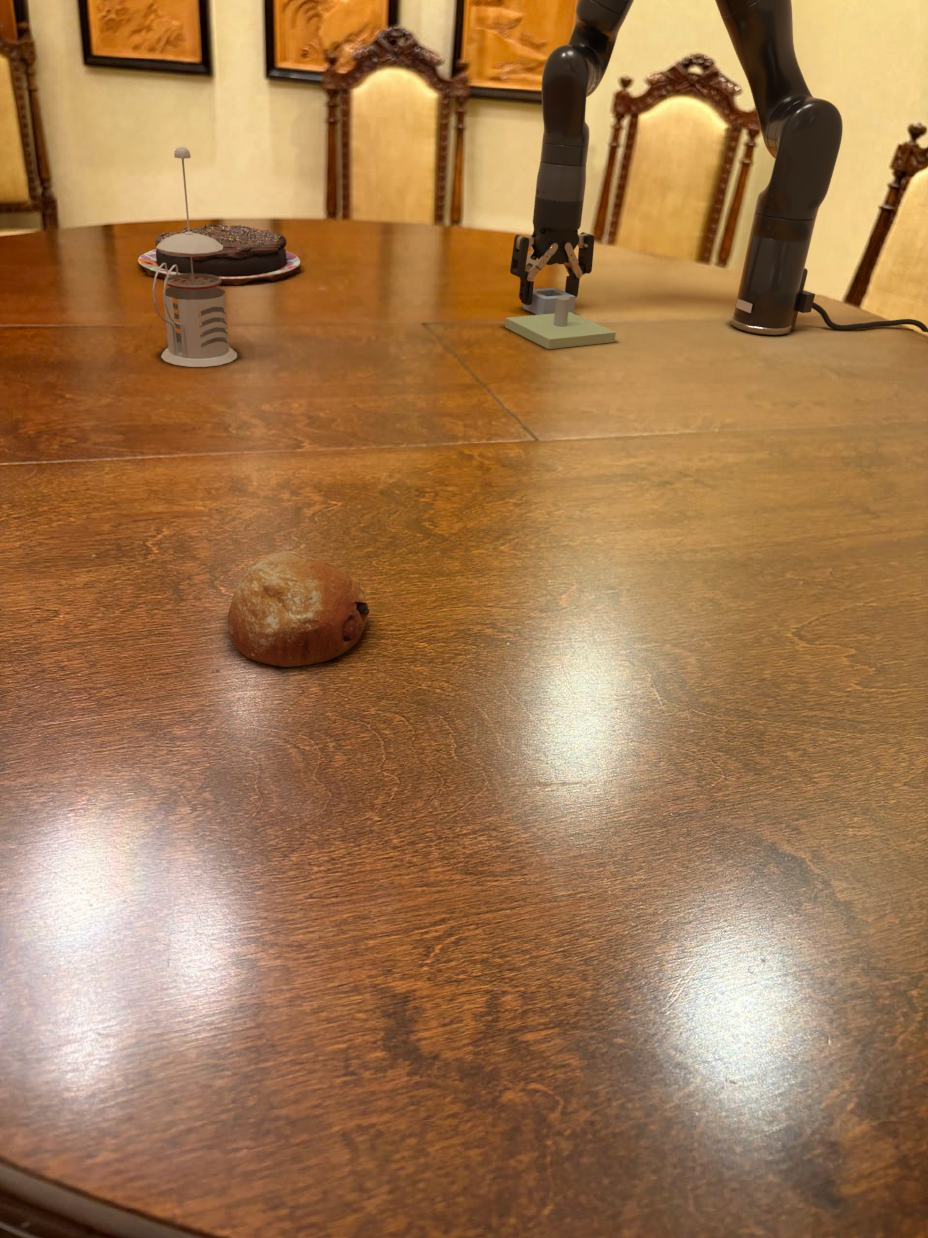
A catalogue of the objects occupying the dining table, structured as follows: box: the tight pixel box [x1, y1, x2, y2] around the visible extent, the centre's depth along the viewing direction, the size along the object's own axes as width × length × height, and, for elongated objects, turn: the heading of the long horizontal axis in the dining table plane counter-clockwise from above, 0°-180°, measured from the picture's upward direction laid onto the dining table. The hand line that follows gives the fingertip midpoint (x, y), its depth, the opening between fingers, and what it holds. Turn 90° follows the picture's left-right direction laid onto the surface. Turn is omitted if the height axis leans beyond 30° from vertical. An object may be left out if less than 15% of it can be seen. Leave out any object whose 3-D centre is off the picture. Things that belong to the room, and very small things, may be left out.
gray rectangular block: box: [522, 287, 576, 315], centre depth 158 cm, size 6×6×3 cm
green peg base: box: [504, 296, 617, 350], centre depth 146 cm, size 12×12×6 cm
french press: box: [152, 146, 238, 368], centre depth 121 cm, size 10×12×25 cm
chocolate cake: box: [137, 223, 302, 286], centre depth 170 cm, size 28×28×7 cm
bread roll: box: [226, 550, 370, 668], centre depth 72 cm, size 10×10×8 cm
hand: (548, 302), depth 158 cm, fingers open, 8 cm apart
